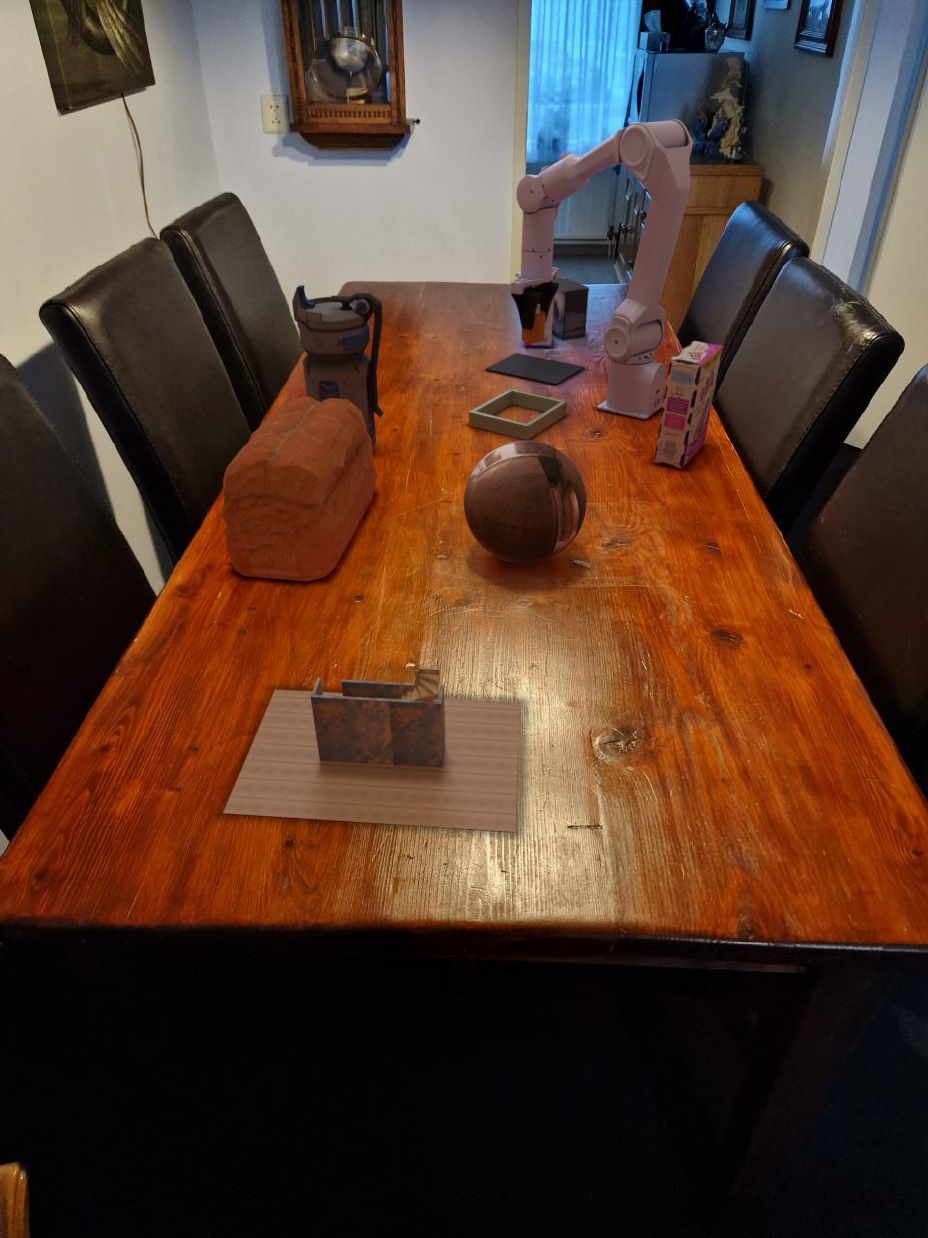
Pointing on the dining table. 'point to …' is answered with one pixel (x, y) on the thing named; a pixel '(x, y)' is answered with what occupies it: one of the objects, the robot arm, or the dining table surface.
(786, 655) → the dining table surface
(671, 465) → the candy bar box
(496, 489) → the wooden sphere
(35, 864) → the dining table surface
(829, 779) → the dining table surface
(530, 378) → the mat
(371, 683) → the architectural model on board
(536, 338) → the bottle
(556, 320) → the small box
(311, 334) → the grenade canister
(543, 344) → the supplement box
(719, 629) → the dining table surface
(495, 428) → the square frame
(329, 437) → the bread
